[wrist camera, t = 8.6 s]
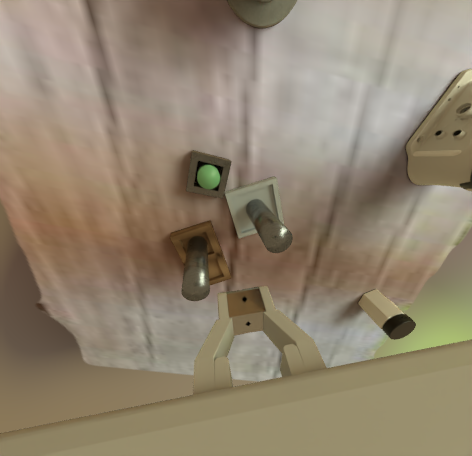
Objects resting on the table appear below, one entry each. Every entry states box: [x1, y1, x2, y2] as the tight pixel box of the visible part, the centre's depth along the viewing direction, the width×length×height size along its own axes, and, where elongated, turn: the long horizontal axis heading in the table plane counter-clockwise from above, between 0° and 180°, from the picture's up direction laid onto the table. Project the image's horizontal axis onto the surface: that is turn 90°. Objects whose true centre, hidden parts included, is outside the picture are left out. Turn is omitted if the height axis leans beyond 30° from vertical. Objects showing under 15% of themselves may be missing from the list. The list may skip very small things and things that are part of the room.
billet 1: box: [182, 236, 210, 301], centre depth 36 cm, size 4×4×14 cm
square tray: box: [224, 177, 284, 238], centre depth 41 cm, size 11×11×2 cm
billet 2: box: [246, 199, 292, 253], centre depth 35 cm, size 4×4×14 cm
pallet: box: [170, 221, 231, 285], centre depth 44 cm, size 16×9×2 cm, turn 15°
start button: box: [197, 163, 220, 189], centre depth 34 cm, size 4×4×4 cm
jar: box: [358, 289, 416, 339], centre depth 59 cm, size 9×8×12 cm
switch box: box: [186, 150, 231, 198], centre depth 35 cm, size 7×7×3 cm
